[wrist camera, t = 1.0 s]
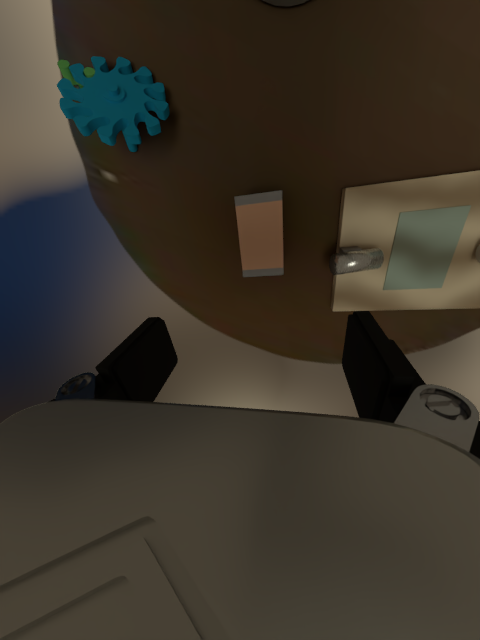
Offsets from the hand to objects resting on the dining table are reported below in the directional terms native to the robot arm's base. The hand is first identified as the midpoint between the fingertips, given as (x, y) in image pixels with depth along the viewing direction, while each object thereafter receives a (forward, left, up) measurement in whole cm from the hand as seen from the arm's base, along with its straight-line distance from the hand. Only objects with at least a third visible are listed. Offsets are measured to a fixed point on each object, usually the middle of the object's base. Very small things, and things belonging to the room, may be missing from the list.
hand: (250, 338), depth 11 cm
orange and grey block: (-3, -1, -21) cm, 21 cm away
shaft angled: (+1, +10, -19) cm, 22 cm away
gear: (-17, -15, -22) cm, 31 cm away
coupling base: (+1, +17, -21) cm, 28 cm away
